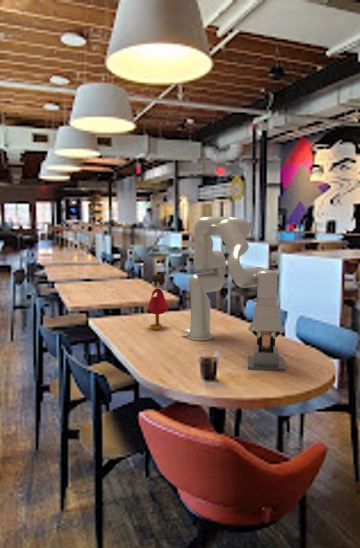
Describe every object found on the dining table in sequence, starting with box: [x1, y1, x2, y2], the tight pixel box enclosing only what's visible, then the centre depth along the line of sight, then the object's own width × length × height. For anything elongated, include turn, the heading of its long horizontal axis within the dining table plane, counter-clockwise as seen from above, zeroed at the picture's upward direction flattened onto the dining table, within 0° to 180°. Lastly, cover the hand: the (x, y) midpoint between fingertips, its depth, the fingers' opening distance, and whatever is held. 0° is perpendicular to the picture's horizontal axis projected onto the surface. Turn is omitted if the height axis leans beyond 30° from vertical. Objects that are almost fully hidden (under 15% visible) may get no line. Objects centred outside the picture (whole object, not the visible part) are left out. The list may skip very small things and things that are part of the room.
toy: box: [147, 272, 169, 330], centre depth 222 cm, size 27×11×30 cm, turn 178°
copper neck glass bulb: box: [260, 331, 272, 352], centre depth 166 cm, size 5×5×10 cm
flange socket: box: [247, 345, 286, 372], centre depth 167 cm, size 14×14×6 cm
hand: (265, 346), depth 167 cm, fingers closed on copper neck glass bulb, 4 cm apart
